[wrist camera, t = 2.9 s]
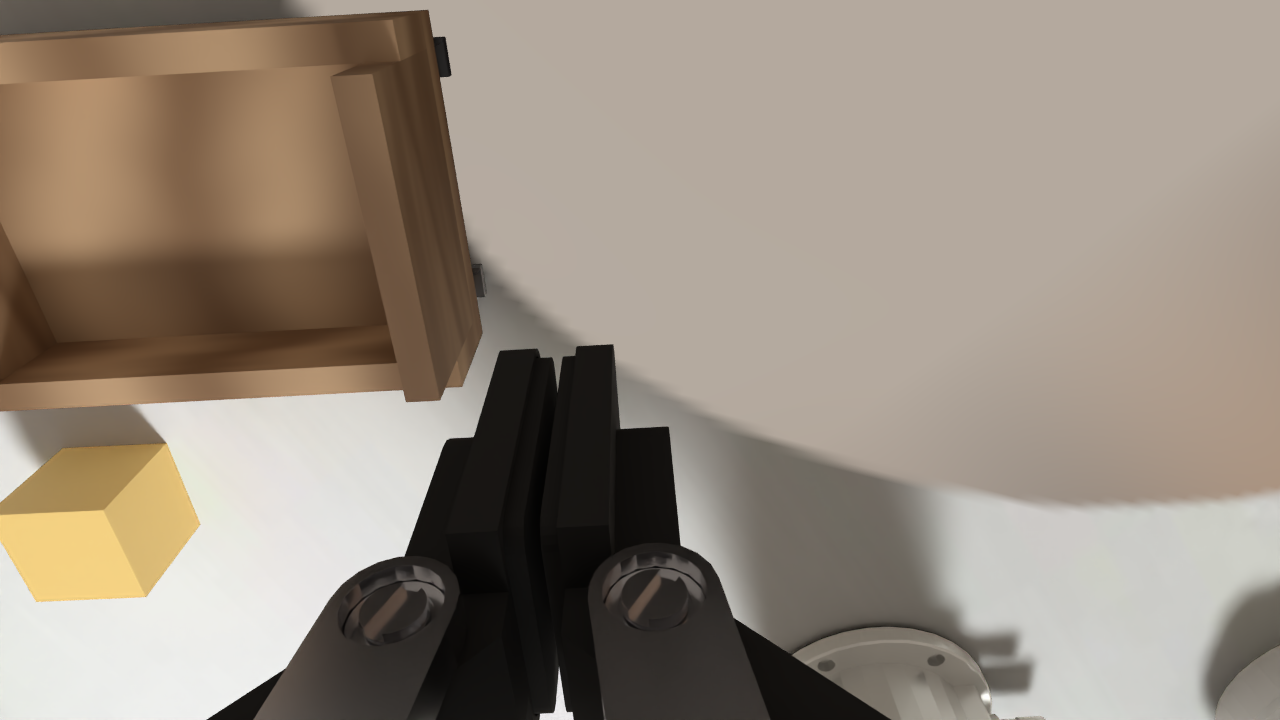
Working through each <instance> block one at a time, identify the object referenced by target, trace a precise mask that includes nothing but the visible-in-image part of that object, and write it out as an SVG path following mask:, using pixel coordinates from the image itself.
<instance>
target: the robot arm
mask: <svg viewBox="0 0 1280 720" xmlns="http://www.w3.org/2000/svg"><path fill="white" fill-rule="evenodd" d="M559 668H560V675H561V681H562V688H563V694H564V701H565V707H566V711H567V712H573V717H574V720H1000V719H999V718H998V717H997V716H996V715H995V714H991V705H992V698H991V694H990V691H989V687H988V684H987V682H986V680H985V678H984V676H983V674H982V672H981V670H980V668H979V666H978V665H977V663H976V662H975V661H974V660H973V659H972V657H971V656H970V655H969V654H968V653H967V652H966V651H965V650H963V649H962V648H960V647H959V646H958V645H956V644H955V643H953V642H952V641H949V640H947V639H945V638H942V637H940V636H938V635H936V634H932V633H928V632H924V631H920V630H916V629H910V628H899V627H873V628H863V629H857V630H852V631H846V632H842V633H839V634H836V635H833V636H830V637H826V638H823V639H820V640H818V641H816V642H814V643H812V644H810V645H808V646H806V647H804V648H802V649H800V650H799V651H797V652H796V653H794V654H793V655H790V654H789V653H787V652H786V651H784V650H783V649H781V648H780V647H778V646H777V645H775V644H773V643H772V642H770V641H769V640H767V639H766V638H764V637H763V636H761V635H759V634H758V633H756V632H755V631H753V630H752V629H750V628H749V627H747V626H746V625H744V624H742V623H741V622H739V621H738V620H736V619H735V618H733V615H732V612H731V609H730V607H729V604H728V601H727V598H726V596H725V593H724V590H723V587H722V585H721V582H720V579H719V577H718V575H717V574H716V572H715V570H714V569H713V567H712V565H711V564H710V563H709V562H708V561H706V560H705V559H704V558H703V557H702V556H700V555H699V554H698V553H696V552H694V551H692V550H689V549H687V548H685V547H683V546H681V545H680V535H679V525H678V515H677V505H676V494H675V484H674V474H673V464H672V454H671V444H670V434H669V427H651V428H633V429H620V420H619V407H618V394H617V381H616V368H615V356H614V346H613V345H593V346H577V348H576V355H575V356H566V357H563V359H562V366H561V373H560V380H559V387H558V392H557V384H556V376H555V368H554V362H553V358H552V357H549V358H540V354H539V351H538V349H522V350H504V351H500V352H499V355H498V358H497V361H496V365H495V368H494V371H493V375H492V378H491V382H490V385H489V388H488V392H487V395H486V398H485V402H484V405H483V408H482V412H481V415H480V418H479V422H478V425H477V428H476V432H475V435H474V437H471V438H453V439H449V440H447V441H446V443H445V445H444V446H443V449H442V452H441V455H440V458H439V460H438V463H437V466H436V469H435V472H434V475H433V477H432V480H431V483H430V486H429V489H428V492H427V494H426V497H425V500H424V503H423V506H422V508H421V511H420V514H419V517H418V520H417V523H416V525H415V528H414V531H413V534H412V537H411V540H410V542H409V545H408V548H407V551H406V554H405V557H396V558H392V559H389V560H385V561H381V562H378V563H376V564H374V565H372V566H370V567H367V568H365V569H363V570H361V571H359V572H358V573H356V574H355V575H354V576H353V577H351V578H350V579H349V580H347V581H346V582H345V583H343V584H342V585H341V586H340V588H339V589H338V590H337V591H336V592H335V594H334V595H333V596H332V597H331V598H330V600H329V601H328V603H327V604H326V606H325V607H324V609H323V611H322V612H321V614H320V615H319V617H318V618H317V620H316V622H315V623H314V625H313V626H312V628H311V630H310V631H309V633H308V634H307V636H306V637H305V639H304V641H303V642H302V644H301V645H300V647H299V648H298V650H297V652H296V653H295V655H294V656H293V658H292V659H291V661H290V663H289V664H288V666H287V667H286V669H284V670H283V671H281V672H280V673H278V674H277V675H275V676H273V677H272V678H270V679H269V680H267V681H266V682H264V683H263V684H261V685H260V686H258V687H256V688H255V689H253V690H252V691H250V692H249V693H247V694H246V695H244V696H243V697H241V698H239V699H238V700H236V701H235V702H233V703H232V704H230V705H229V706H227V707H226V708H224V709H222V710H221V711H219V712H218V713H216V714H215V715H213V716H212V717H210V718H209V719H207V720H539V718H540V714H541V713H553V712H554V710H555V705H556V694H557V683H558V671H559ZM1001 720H1045V719H1044V717H1041V716H1034V717H1016V718H1015V719H1001Z"/></svg>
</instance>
